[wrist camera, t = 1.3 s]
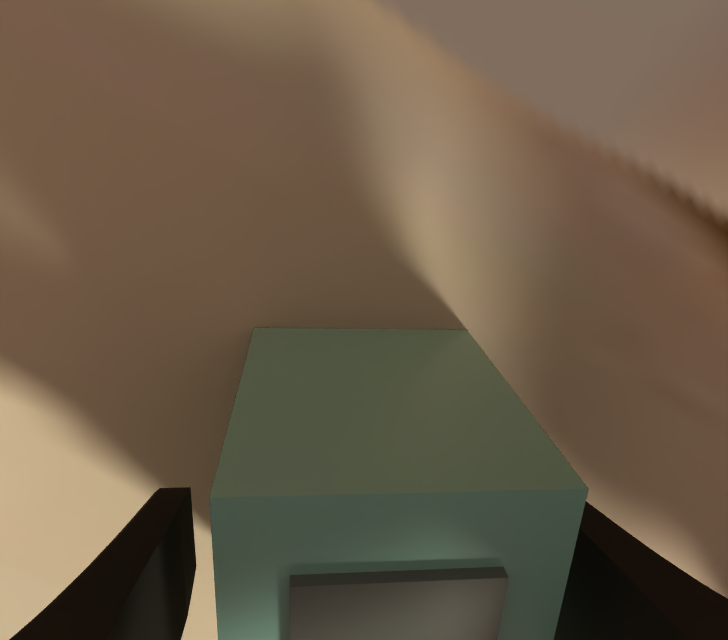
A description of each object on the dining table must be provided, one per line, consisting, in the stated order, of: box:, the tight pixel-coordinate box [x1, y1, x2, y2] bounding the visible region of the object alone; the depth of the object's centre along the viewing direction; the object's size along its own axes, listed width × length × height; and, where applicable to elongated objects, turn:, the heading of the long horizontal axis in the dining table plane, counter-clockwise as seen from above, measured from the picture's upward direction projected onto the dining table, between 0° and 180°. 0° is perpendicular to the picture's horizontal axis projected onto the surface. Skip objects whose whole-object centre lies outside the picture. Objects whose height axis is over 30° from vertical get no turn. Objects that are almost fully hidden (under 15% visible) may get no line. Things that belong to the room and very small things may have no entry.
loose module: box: [209, 328, 588, 640], centre depth 11 cm, size 5×7×6 cm
